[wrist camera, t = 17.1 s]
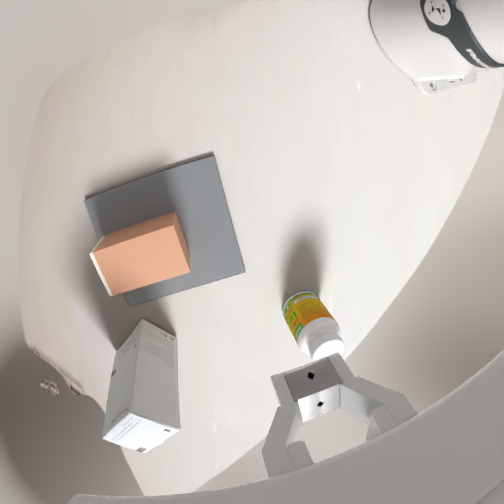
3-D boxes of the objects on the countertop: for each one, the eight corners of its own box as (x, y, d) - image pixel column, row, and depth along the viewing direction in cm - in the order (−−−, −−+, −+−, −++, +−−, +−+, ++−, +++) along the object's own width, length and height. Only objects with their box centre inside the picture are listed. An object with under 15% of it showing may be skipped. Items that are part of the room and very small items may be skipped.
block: (173, 225, 26) (89, 253, 25) (190, 272, 28) (109, 296, 27) (175, 211, 30) (102, 236, 29) (189, 252, 32) (119, 274, 32)
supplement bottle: (279, 295, 38) (306, 343, 29) (318, 285, 38) (351, 328, 30) (283, 326, 40) (307, 375, 31) (319, 316, 41) (348, 361, 32)
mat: (213, 155, 29) (214, 156, 29) (244, 270, 35) (245, 272, 35) (85, 199, 28) (84, 200, 27) (130, 304, 34) (129, 306, 33)
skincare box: (142, 316, 35) (128, 408, 21) (180, 338, 37) (184, 430, 24) (114, 353, 36) (98, 439, 23) (150, 371, 39) (146, 457, 25)
